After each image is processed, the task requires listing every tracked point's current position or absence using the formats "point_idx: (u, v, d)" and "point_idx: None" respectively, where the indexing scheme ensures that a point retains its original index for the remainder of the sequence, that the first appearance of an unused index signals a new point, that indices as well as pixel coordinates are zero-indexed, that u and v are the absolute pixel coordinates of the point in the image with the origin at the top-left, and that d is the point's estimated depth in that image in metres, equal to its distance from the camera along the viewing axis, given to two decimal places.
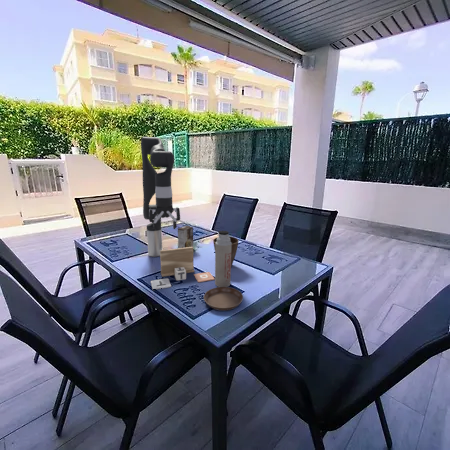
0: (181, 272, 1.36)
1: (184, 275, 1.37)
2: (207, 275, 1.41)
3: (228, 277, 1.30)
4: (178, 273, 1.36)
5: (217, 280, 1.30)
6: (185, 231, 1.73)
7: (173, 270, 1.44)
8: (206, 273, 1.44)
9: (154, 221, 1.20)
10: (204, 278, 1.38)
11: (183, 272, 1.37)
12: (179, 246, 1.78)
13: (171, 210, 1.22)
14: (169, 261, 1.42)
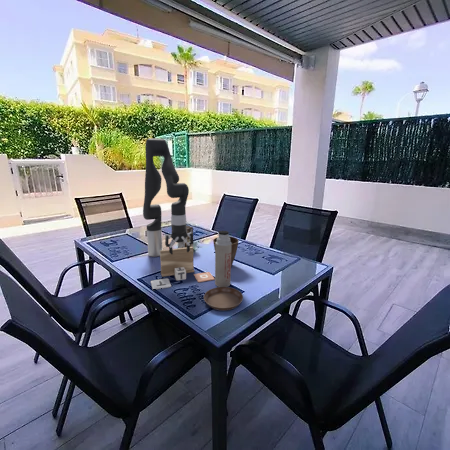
0: (181, 272, 1.36)
1: (184, 275, 1.37)
2: (207, 275, 1.41)
3: (228, 277, 1.30)
4: (178, 273, 1.36)
5: (217, 280, 1.30)
6: None
7: (173, 270, 1.44)
8: (206, 273, 1.44)
9: (170, 246, 1.32)
10: (204, 278, 1.38)
11: (183, 272, 1.37)
12: (179, 246, 1.78)
13: (185, 235, 1.34)
14: (169, 261, 1.42)
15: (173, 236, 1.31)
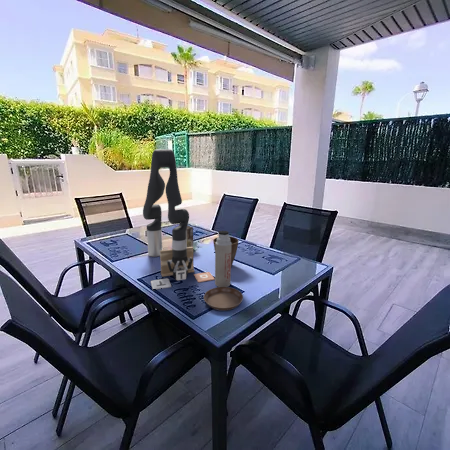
0: (181, 272, 1.36)
1: (184, 275, 1.37)
2: (207, 275, 1.41)
3: (228, 277, 1.30)
4: (178, 273, 1.36)
5: (217, 280, 1.30)
6: None
7: None
8: (206, 273, 1.44)
9: (173, 271, 1.36)
10: (204, 278, 1.38)
11: (183, 272, 1.37)
12: None
13: (186, 260, 1.37)
14: None
15: (174, 261, 1.35)
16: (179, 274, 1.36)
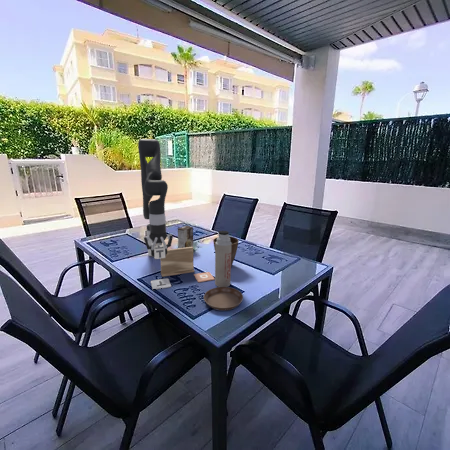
0: (160, 250, 1.25)
1: (163, 253, 1.26)
2: (207, 275, 1.41)
3: (228, 277, 1.30)
4: (156, 251, 1.24)
5: (217, 280, 1.30)
6: (185, 231, 1.73)
7: (173, 270, 1.44)
8: (206, 273, 1.44)
9: (151, 248, 1.24)
10: (204, 278, 1.38)
11: (162, 250, 1.25)
12: (179, 246, 1.78)
13: (165, 237, 1.26)
14: (169, 261, 1.42)
15: (151, 238, 1.23)
16: (157, 252, 1.25)
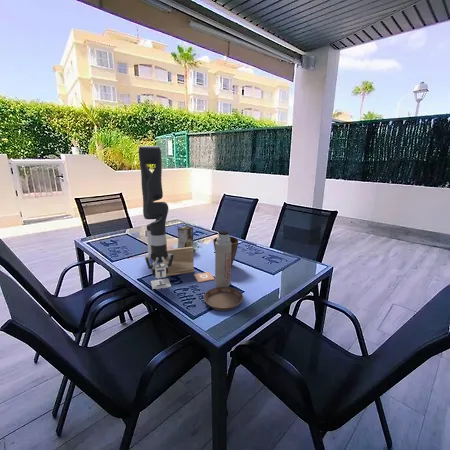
0: (160, 269, 1.27)
1: (164, 272, 1.28)
2: (207, 275, 1.41)
3: (228, 277, 1.30)
4: (157, 270, 1.27)
5: (217, 280, 1.30)
6: (185, 231, 1.73)
7: (173, 270, 1.44)
8: (206, 273, 1.44)
9: (152, 268, 1.27)
10: (204, 278, 1.38)
11: (163, 269, 1.28)
12: (179, 246, 1.78)
13: (166, 256, 1.28)
14: None
15: (152, 258, 1.26)
16: (158, 271, 1.27)
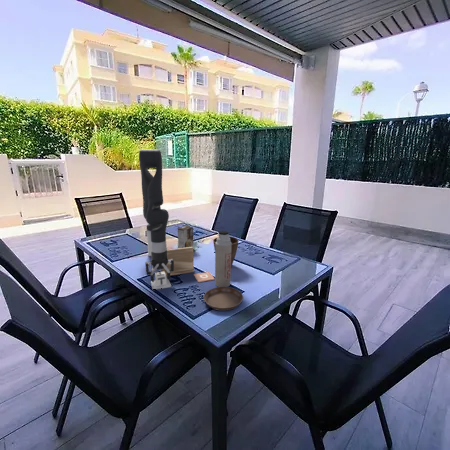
0: (161, 277, 1.28)
1: (164, 280, 1.30)
2: (207, 275, 1.41)
3: (228, 277, 1.30)
4: (158, 278, 1.28)
5: (217, 280, 1.30)
6: (185, 231, 1.73)
7: None
8: (206, 273, 1.44)
9: (151, 274, 1.27)
10: (204, 278, 1.38)
11: (163, 277, 1.29)
12: (179, 246, 1.78)
13: (166, 262, 1.29)
14: None
15: (153, 264, 1.27)
16: (159, 279, 1.28)
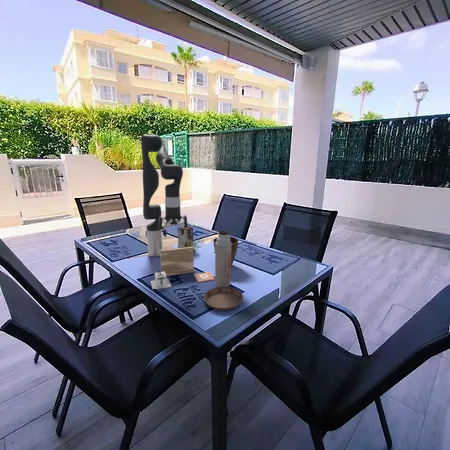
0: (161, 277, 1.28)
1: (164, 280, 1.30)
2: (207, 275, 1.41)
3: (228, 277, 1.30)
4: (158, 278, 1.28)
5: (217, 280, 1.30)
6: (185, 231, 1.73)
7: (173, 270, 1.44)
8: (206, 273, 1.44)
9: (164, 228, 1.32)
10: (204, 278, 1.38)
11: (163, 277, 1.29)
12: (179, 246, 1.78)
13: (179, 218, 1.33)
14: (169, 261, 1.42)
15: (167, 218, 1.31)
16: (159, 279, 1.28)
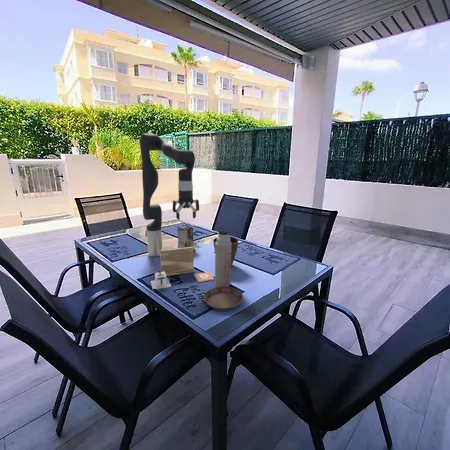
0: (161, 277, 1.28)
1: (164, 280, 1.30)
2: (207, 275, 1.41)
3: (228, 277, 1.30)
4: (158, 278, 1.28)
5: (217, 280, 1.30)
6: (185, 231, 1.73)
7: (173, 270, 1.44)
8: (206, 273, 1.44)
9: (177, 211, 1.38)
10: (204, 278, 1.38)
11: (163, 277, 1.29)
12: (179, 246, 1.78)
13: (191, 201, 1.40)
14: (169, 261, 1.42)
15: (180, 202, 1.37)
16: (159, 279, 1.28)
